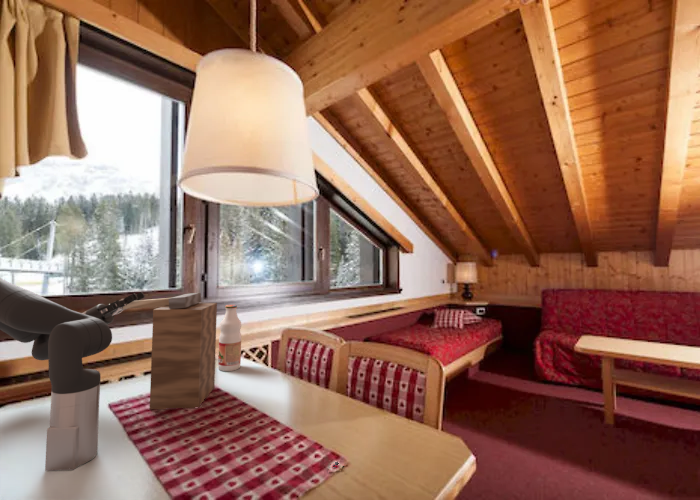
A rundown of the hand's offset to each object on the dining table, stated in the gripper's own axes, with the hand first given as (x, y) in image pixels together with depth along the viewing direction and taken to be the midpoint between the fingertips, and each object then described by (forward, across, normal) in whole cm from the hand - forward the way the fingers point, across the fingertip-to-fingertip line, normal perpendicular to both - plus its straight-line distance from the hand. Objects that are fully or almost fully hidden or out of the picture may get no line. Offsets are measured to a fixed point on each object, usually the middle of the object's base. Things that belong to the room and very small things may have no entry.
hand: (139, 295), depth 118 cm
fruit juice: (+3, +32, +43) cm, 54 cm away
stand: (-4, 0, +39) cm, 39 cm away
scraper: (+3, 0, +7) cm, 7 cm away
